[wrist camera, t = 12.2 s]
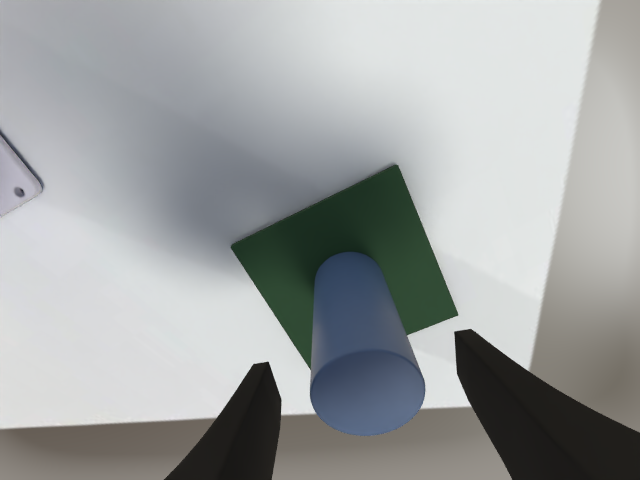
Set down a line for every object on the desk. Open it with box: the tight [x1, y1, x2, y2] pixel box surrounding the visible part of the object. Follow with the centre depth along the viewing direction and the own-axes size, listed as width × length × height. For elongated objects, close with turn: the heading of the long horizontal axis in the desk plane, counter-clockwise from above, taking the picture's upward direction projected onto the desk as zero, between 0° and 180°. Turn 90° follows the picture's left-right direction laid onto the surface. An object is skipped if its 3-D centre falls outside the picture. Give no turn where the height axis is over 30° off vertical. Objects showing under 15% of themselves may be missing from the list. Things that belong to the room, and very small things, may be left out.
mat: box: [231, 165, 458, 370], centre depth 19 cm, size 10×10×1 cm
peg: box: [310, 252, 425, 436], centre depth 15 cm, size 4×4×8 cm
